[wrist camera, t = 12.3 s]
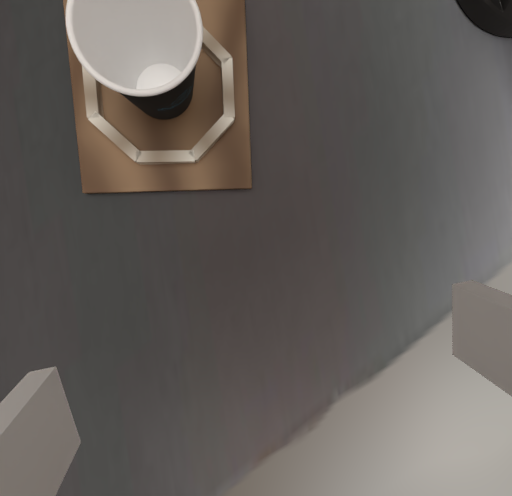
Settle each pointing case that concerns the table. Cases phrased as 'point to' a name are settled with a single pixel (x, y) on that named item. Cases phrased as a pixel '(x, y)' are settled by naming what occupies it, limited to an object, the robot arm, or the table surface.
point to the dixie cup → (139, 49)
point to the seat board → (172, 121)
